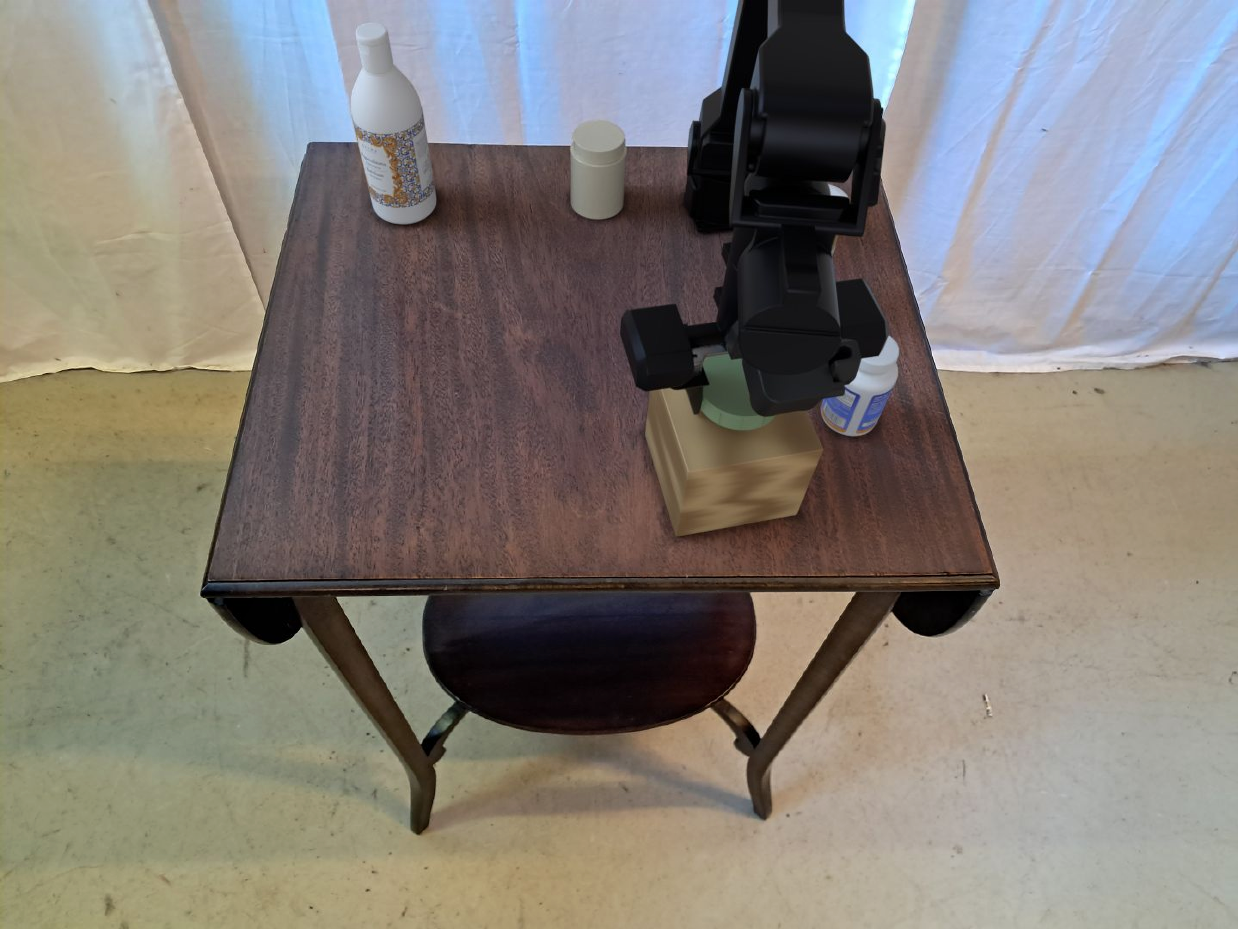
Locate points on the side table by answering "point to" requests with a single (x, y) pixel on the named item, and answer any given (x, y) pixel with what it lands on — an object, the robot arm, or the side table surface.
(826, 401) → the pill bottle
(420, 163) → the bath foam
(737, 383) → the jar lid
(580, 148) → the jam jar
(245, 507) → the side table surface
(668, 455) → the oak stand
